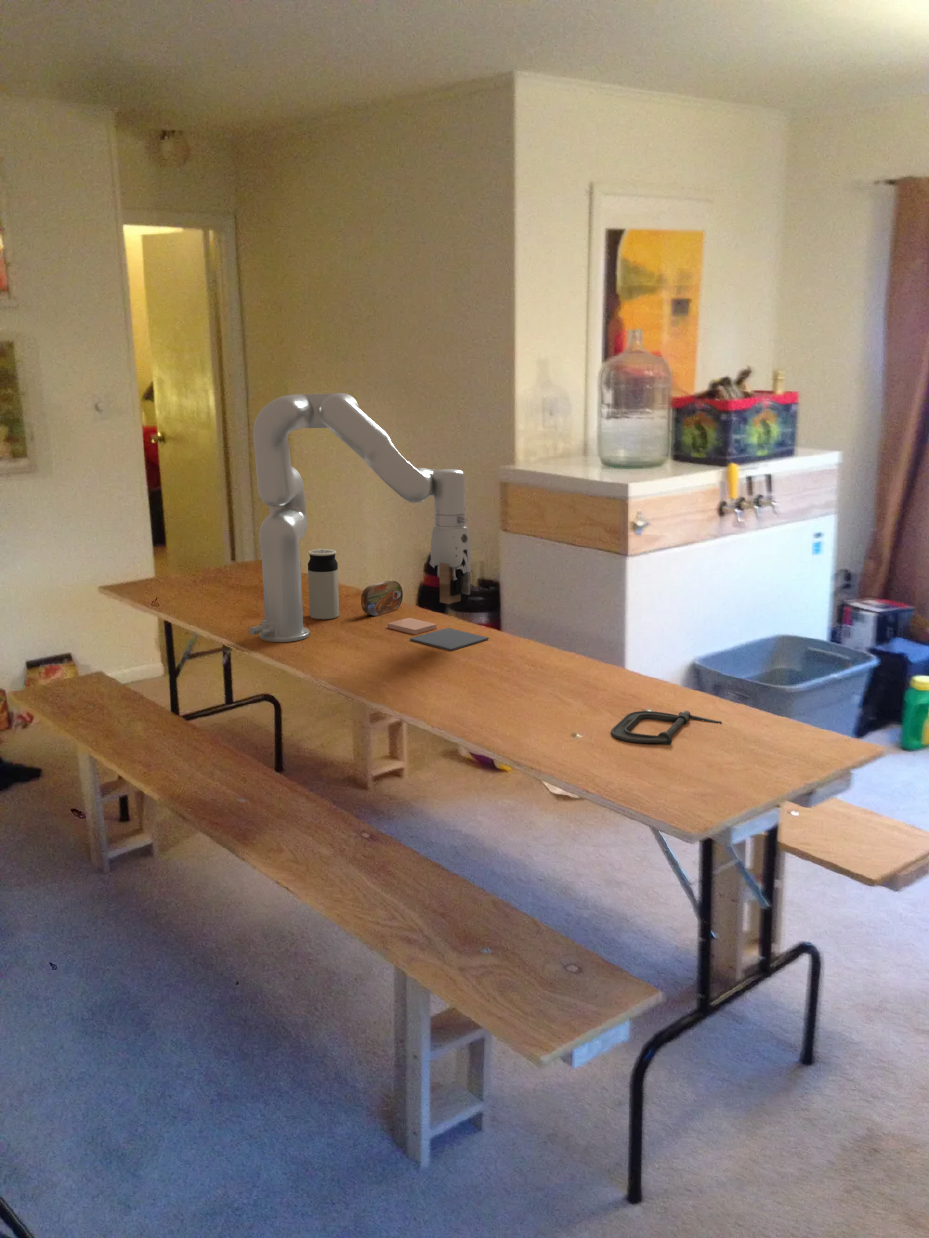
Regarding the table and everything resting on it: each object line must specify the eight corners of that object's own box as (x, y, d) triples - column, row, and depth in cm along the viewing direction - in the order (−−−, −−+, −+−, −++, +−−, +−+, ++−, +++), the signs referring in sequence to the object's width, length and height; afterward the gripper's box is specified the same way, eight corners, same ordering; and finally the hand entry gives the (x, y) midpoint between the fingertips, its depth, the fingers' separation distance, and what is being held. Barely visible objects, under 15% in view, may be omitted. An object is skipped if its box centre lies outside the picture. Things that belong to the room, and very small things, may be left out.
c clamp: (640, 709, 220) (641, 697, 219) (722, 725, 211) (723, 712, 210) (598, 739, 203) (599, 725, 203) (685, 758, 194) (686, 743, 194)
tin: (367, 618, 289) (367, 588, 287) (359, 617, 291) (358, 586, 289) (404, 608, 300) (403, 578, 298) (395, 606, 302) (395, 577, 300)
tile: (415, 629, 273) (436, 624, 279) (387, 623, 279) (409, 617, 285) (414, 636, 273) (436, 630, 279) (387, 629, 280) (409, 623, 286)
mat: (450, 650, 259) (450, 649, 259) (410, 640, 268) (410, 638, 268) (488, 639, 269) (488, 637, 269) (448, 629, 278) (448, 627, 278)
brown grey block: (456, 605, 262) (455, 565, 259) (432, 600, 267) (432, 561, 264) (470, 602, 265) (470, 562, 263) (446, 597, 271) (446, 558, 268)
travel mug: (336, 620, 287) (335, 554, 282) (307, 620, 287) (305, 554, 282) (340, 613, 294) (339, 548, 290) (312, 612, 295) (309, 548, 290)
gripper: (485, 522, 258) (485, 596, 263) (436, 515, 269) (437, 586, 273) (464, 526, 253) (464, 601, 257) (415, 518, 263) (416, 591, 268)
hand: (450, 593), depth 265 cm, fingers closed on brown grey block, 3 cm apart
